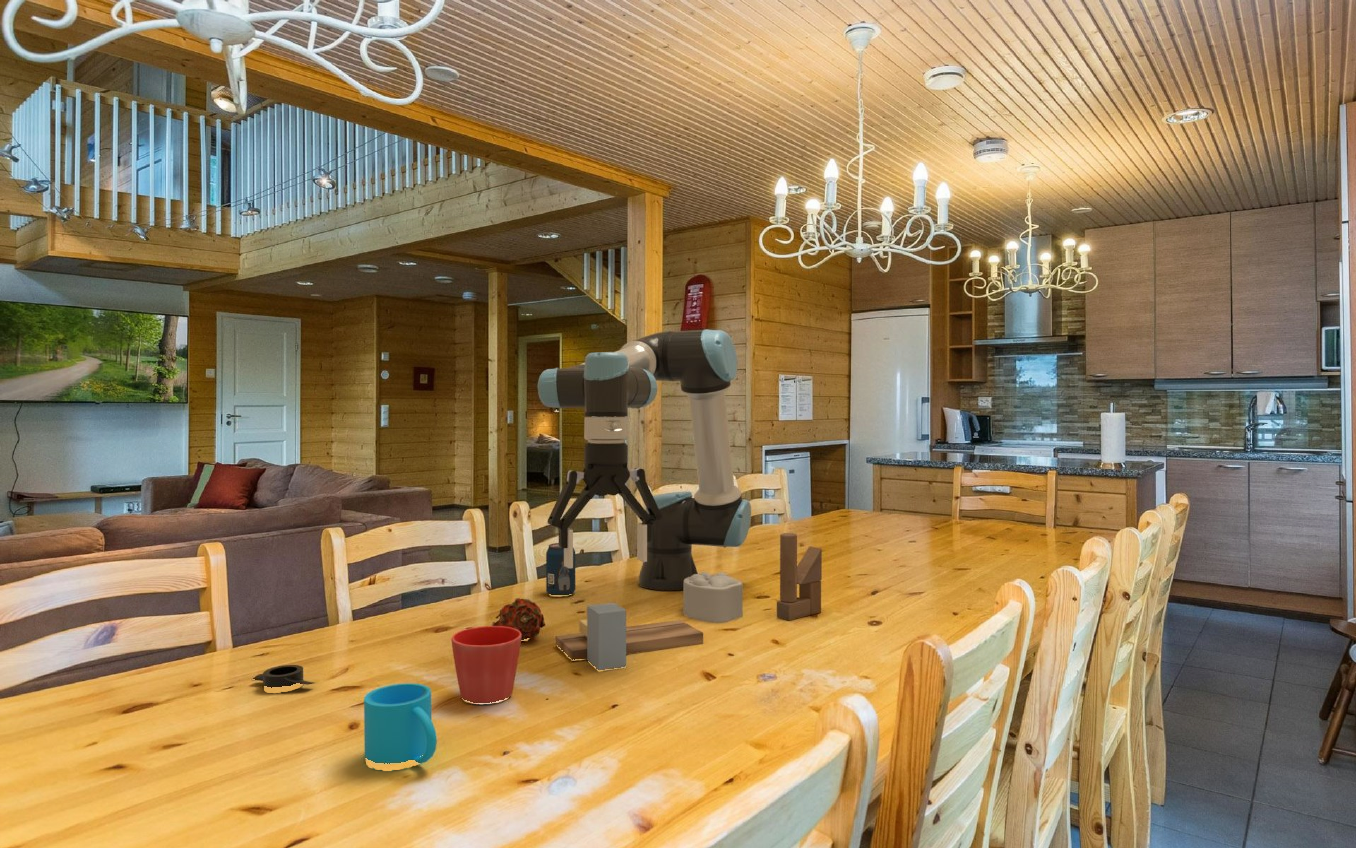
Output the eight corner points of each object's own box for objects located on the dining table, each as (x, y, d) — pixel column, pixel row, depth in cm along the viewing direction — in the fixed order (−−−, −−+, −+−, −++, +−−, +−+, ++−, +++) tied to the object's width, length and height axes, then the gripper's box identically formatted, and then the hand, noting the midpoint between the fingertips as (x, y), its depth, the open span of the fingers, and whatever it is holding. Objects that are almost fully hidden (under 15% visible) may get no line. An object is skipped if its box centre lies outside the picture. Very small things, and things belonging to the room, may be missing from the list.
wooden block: (821, 612, 173) (822, 530, 172) (788, 621, 166) (789, 536, 165) (808, 609, 175) (809, 528, 175) (775, 618, 169) (776, 533, 168)
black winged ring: (264, 703, 121) (263, 684, 121) (249, 685, 128) (249, 668, 128) (317, 691, 126) (317, 673, 125) (300, 675, 133) (300, 658, 133)
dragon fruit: (536, 655, 148) (502, 651, 156) (563, 621, 153) (529, 618, 162) (509, 623, 145) (476, 620, 154) (538, 590, 150) (505, 589, 159)
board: (555, 646, 148) (555, 635, 148) (680, 629, 159) (680, 619, 159) (572, 662, 139) (572, 650, 139) (703, 643, 150) (703, 632, 150)
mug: (352, 759, 101) (351, 696, 101) (408, 738, 108) (408, 679, 107) (404, 787, 94) (404, 719, 93) (462, 763, 100) (461, 699, 100)
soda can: (560, 590, 194) (560, 541, 194) (581, 594, 190) (581, 544, 190) (540, 595, 188) (539, 545, 188) (561, 599, 184) (561, 548, 184)
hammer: (571, 647, 148) (571, 594, 147) (596, 644, 150) (596, 591, 150) (598, 672, 134) (598, 613, 134) (626, 668, 136) (626, 610, 136)
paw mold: (718, 625, 163) (719, 583, 163) (671, 614, 172) (671, 574, 172) (748, 615, 171) (748, 575, 171) (702, 605, 180) (702, 567, 179)
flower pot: (535, 688, 126) (534, 628, 126) (497, 714, 116) (497, 648, 116) (477, 681, 130) (477, 622, 130) (436, 705, 119) (436, 641, 119)
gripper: (541, 443, 128) (541, 573, 129) (680, 441, 139) (679, 561, 139) (529, 442, 135) (529, 565, 135) (662, 440, 146) (662, 554, 146)
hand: (606, 563), depth 137 cm, fingers open, 13 cm apart
